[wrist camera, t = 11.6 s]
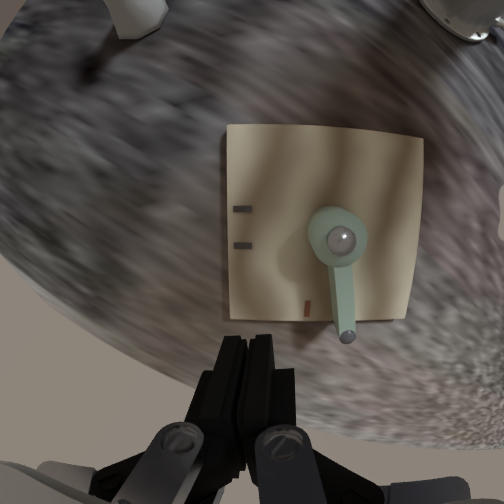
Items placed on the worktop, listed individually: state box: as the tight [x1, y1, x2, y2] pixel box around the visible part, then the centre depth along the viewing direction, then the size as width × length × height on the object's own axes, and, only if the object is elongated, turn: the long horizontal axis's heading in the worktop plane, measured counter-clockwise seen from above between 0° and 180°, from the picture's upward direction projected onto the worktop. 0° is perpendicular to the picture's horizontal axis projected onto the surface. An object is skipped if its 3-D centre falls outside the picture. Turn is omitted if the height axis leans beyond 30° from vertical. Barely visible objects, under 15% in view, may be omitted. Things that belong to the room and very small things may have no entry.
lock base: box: [227, 124, 424, 321], centre depth 28 cm, size 20×20×2 cm
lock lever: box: [307, 205, 367, 344], centre depth 26 cm, size 13×5×5 cm, turn 11°
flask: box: [103, 0, 169, 39], centre depth 19 cm, size 7×7×10 cm
